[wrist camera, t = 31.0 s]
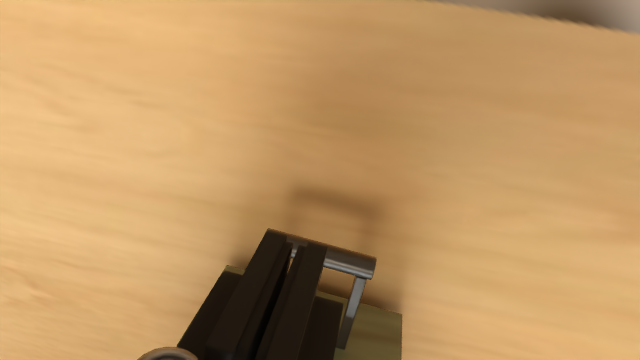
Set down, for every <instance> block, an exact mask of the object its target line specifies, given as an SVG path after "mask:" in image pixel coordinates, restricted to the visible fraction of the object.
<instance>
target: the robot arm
mask: <svg viewBox="0 0 640 360" xmlns="http://www.w3.org/2000/svg"><path fill="white" fill-rule="evenodd" d="M292 249H293V243H292V242H288V241H287V235H283V234H279V233H276V232H272V231H266V233H265V235H264V237H263V239H262V240H261V242H260V244H259V246H258V248H257V250H256V251H255V253H254V255H253V257H252V259H251V261H250V263H249V264H248V266H247V268H246V270H245V272H244V274H243V275H240V274H237V273H233V272H230V271H226V270H225V271H224V272H223V273H222V274H221V275H220V277H219V278H218V280H217V282H216V283H215V285H214V287H213V288H212V290H211V291H210V293H209V295H208V296H207V298H206V300H205V301H204V303H203V304H202V306H201V308H200V309H199V311H198V313H197V314H196V316H195V317H194V319H193V321H192V322H191V324H190V326H189V327H188V329H187V331H186V332H185V334H184V335H183V337H182V339H181V340H180V342H179V344H178V345H177V347H163V348H158V349H154V350H152V351H150V352H148V353H146V354H144V355H142V356H141V357H140V358H139V359H138V360H333V359H334V353H335V348H336V343H337V337H338V332H339V327H340V321H341V316H342V311H343V303H341V302H337V301H334V300H330V299H326V298H323V297H319V296H316V293H317V289H318V285H319V281H320V277H321V273H322V269H323V265H324V261H325V257H326V253H327V249H328V247H327V246H324V245H320V244H316V243H313V242H308V244H307V246H303V245H299V246H298V249H297V251H296V254H295V257H294V259H293V262H292V264H291V267H290V269H289V264H290V259H291V254H292ZM288 269H289V272H288ZM287 273H288V274H287Z"/></svg>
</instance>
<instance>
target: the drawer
mask: <svg viewBox="0 0 640 360" xmlns="http://www.w3.org/2000/svg"><path fill="white" fill-rule="evenodd" d="M267 231H272V232H276V233H279V234H283V235H287V241H288V242H292V243H293V249H292V254H291V258H294V257H295V254H296V251H297V249H298V246H299V245H303V246H307V244H308V242H313V243H316V244H320V245H324V246H327V247H328V249H327V253H326V257H325V261H324V265H323V267H326V268H330V269H333V270H337V271H340V272H344V273H348V274H351V275H355V279H354V282H353V286H352V289H351V292H350V296H349V299H346V298H342V297H339V296H335V295H332V294H328V293H324V292H321V291H317V293H316V296H319V297H323V298H326V299H330V300H334V301H337V302H341V303H343V311H342V316H341V321H340V327H339V332H338V337H337V343H336V348H335V353H334V359H333V360H401V355H402V314H399V313H395V312H392V311H388V310H385V309H381V308H378V307H374V306H370V305H367V304H363V303H360V300H361V297H362V293H363V290H364V287H365V284H366V281H367V279H369V280H371V279H372V277H373V274H374V270H375V266H376V257H372V256H369V255H365V254H361V253H358V252H354V251H350V250H347V249H343V248H339V247H336V246H332V245H328V244H325V243H321V242H318V241H314V240H310V239H307V238H303V237H299V236H296V235H292V234H288V233H285V232H281V231H277V230H274V229H270V228H268V229H267ZM225 270H226V271H230V272H233V273H237V274H240V275H243V274H244V272H245V270H243V269H239V268H236V267H232V266H229V265H227V266H226V268H225V269H224V271H225ZM224 271H223V272H224ZM223 272H222V273H223ZM197 313H198V312H197ZM192 321H193V320H192ZM189 326H190V325H189ZM187 329H188V328H187ZM186 331H187V330H186ZM184 334H185V333H184ZM182 337H183V336H182ZM181 339H182V338H181ZM179 342H180V341H179ZM178 344H179V343H178ZM178 344H177V345H178Z"/></svg>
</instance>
